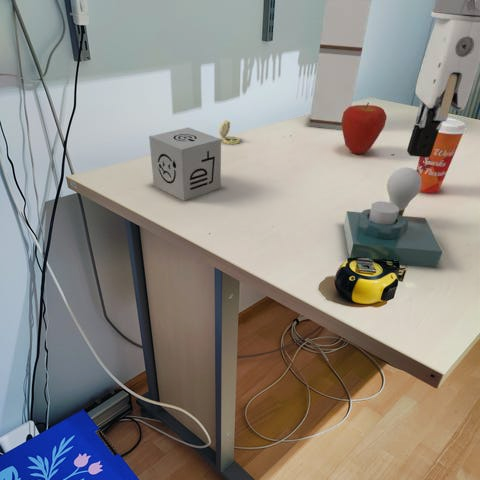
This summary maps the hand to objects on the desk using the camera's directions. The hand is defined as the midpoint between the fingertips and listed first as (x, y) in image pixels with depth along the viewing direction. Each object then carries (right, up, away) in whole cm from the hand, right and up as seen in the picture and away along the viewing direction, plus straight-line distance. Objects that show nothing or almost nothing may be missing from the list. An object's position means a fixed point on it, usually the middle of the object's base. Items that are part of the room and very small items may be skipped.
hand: (418, 154), depth 64 cm
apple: (+4, +19, +48) cm, 51 cm away
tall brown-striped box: (+1, +36, +68) cm, 77 cm away
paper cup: (+14, +4, +30) cm, 33 cm away
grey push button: (-3, -9, +6) cm, 11 cm away
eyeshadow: (-30, +23, +50) cm, 63 cm away
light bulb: (+2, -6, +17) cm, 18 cm away
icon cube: (-38, +3, +25) cm, 46 cm away
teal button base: (-2, -12, +9) cm, 15 cm away
